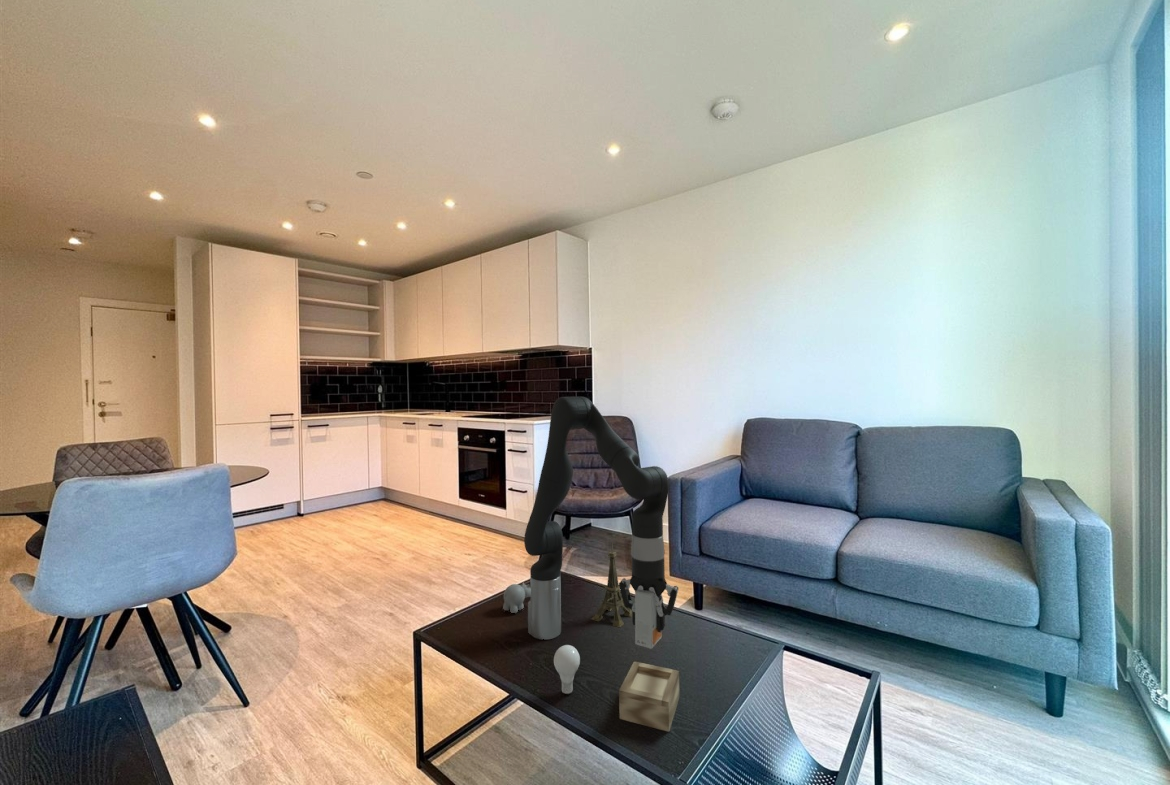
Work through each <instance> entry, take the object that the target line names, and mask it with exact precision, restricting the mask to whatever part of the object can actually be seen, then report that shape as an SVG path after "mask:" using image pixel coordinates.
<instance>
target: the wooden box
mask: <svg viewBox="0 0 1170 785" xmlns="http://www.w3.org/2000/svg"><path fill="white" fill-rule="evenodd" d="M618 692H619V693H618V695H619V696H618V698H619V700H618V702H619V704H618V707H619V708H618V710H619V719H620V720H623V721H627V722H629V723H635V724H638V725H642V726H645V727H649V728H654V729H657V730H661V731H664V732H667V733H668V732H670V730H671V728H672V724H673V721H674V718H675V713H676V711H677V706H678V705H679V704H678V703H679V700H680V670H677V669H673V668H672V669H671V668H668V667H664V666H658V665H654V664H648V663H643V662H639V661H633V663H632V665H631V666H630V669H629V670H628V672H627V675H626V676H625V678H624V680H623V682H622V684H621V686H620V688H619V690H618Z"/></svg>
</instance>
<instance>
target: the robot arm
mask: <svg viewBox="0 0 1170 785" xmlns="http://www.w3.org/2000/svg"><path fill="white" fill-rule="evenodd" d="M582 429H583V430H586V431H588V432H589V433H590V434H592V435H593V437H594V438H595V444H596V450H597V453H598V454H599V456H600V458H601V459H602V460H603V461H604V462H605V463H606V464H607V466H609V467H610V468H611V469H612V470H613V471H614V473H615V474H616V476H617V479H618V480H619V482H620V485H621V486H622V488H623V490H624V491H625V493H626V494H627V495H628V496H629V497H631V498H633V499H635V500H640V501H641V500H643V501H642V504H641V505H640V506H638V507H637V508H635V509H634V510H633V512H632V515H631V521H632V524H631V527H632V530H631V531H632V537H631V545H630V547H631V577H630V579H629V578H628V579H626V578H622V579H621V580H620V582H618V584H619V587H620V593H621V596H622V598H623V602H624V606H625V607H626V608H630V609H631V611H632V617H631V618H632V624H633V626H635V598H634V599H632V596H631V591H630V588H631V587H632V588H633V590H634V592H635V591H636V590H637V591H643V590H647V591H650V593H654V597H655V607H656V609H657V612H658V616H657V631H658V632H660V633H661V631H664V629H665V627H666V616H667V615H668V616H671V615H672V613H673V611H674V607H675V604H676V600H677V596H678V592H679V587H678V586H677V585H674V586H673V585H670V584H668V583H667V581H666V578H665V576H666V575H665V573H666V572H665V554H666V553H665V552H666V550H665V542H664V526H663V525H664V524H663V523H664V520H663V518H664V513H665V509H666V505H667V500H668V495H669V491H670V482H669V477H668V475H667V473H666V470H664V469H663V468H661V467H660V466H658V465H656V466H655V465H653V466H646V467H639V465H640V457H639V454H638V453H637V452H636V451H635V450H634V449H633V447H631V446H630V445H629V444H628V443H626V441H625V440H623V439H622V438H621V437H620V436H619V435H618V433H616V431H614V429H613V428H612V427H611V425H610V424H609V423H608V421H607V420H606V418H604V416H603V414H602V413H601V412H600V411H599V409H598V408H597V406H595V404H594V403H593V402H592V401H591V400H590V398H588V397H586V396H560V397H558V398H557V399H556V400H555V401H554V403H553V406H552V409H551V414H550V421H549V428H548V438H547V445H546V450H545V455H544V460H543V464H542V468H541V470H540V471H541V472H540V477H539V480H538V486H537V490H536V491H537V492H536V496H535V499H534V503H533V507H532V510H531V513H530V516H529V519H528V522H527V524H526V527H525V532H524V539H523V540H524V542H523V543H524V548H525V550H526V553H527V554H528V555H530V556H531V557H537V556H541V557H540V558H539V559H538V560H537V561H536V562H535V563H533V564H532V565H531V567H530V572H529V574H530V575H529V576H530V584H529V587H531V596H530V600H529V601H528V602H527V629H528V630H527V633H529V634H528V635H531V636H532V637H533V638H535V639H537V640H543V639H544V640H545V641H546V640H551V639H554V638H557V637H559V635H561V632H562V608H561V607H562V599H561V598H562V596H561V595H562V592H561V590H562V589H561V588H562V587H561V580H562V579H561V569H562V568H563V567H562V566H563V554H564V553H563V551H564V550H563V549H564V535H563V531H562V526H561V525H560V524H559V522H557V521H554V520H550V518H551V516H552V515H553V514H554V512H555V511H556V510H557V509H558V507H559V506H561V504H562V502H563V501H564V500H565V499H566V497H568V494H569V492H570V489H571V485H572V479H573V477H574V476H573V475H574V468H573V464H572V462H571V459H570V456H569V454H568V451H567V441H568V436H569V433H570V431H573V430H582ZM665 590H666V592H667V593H666V594H667V596H668V597H669V599H668V603H667V606H665V602H664V598H663V595H662V594H663V593H664V591H665ZM658 598H659V599H658Z"/></svg>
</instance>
